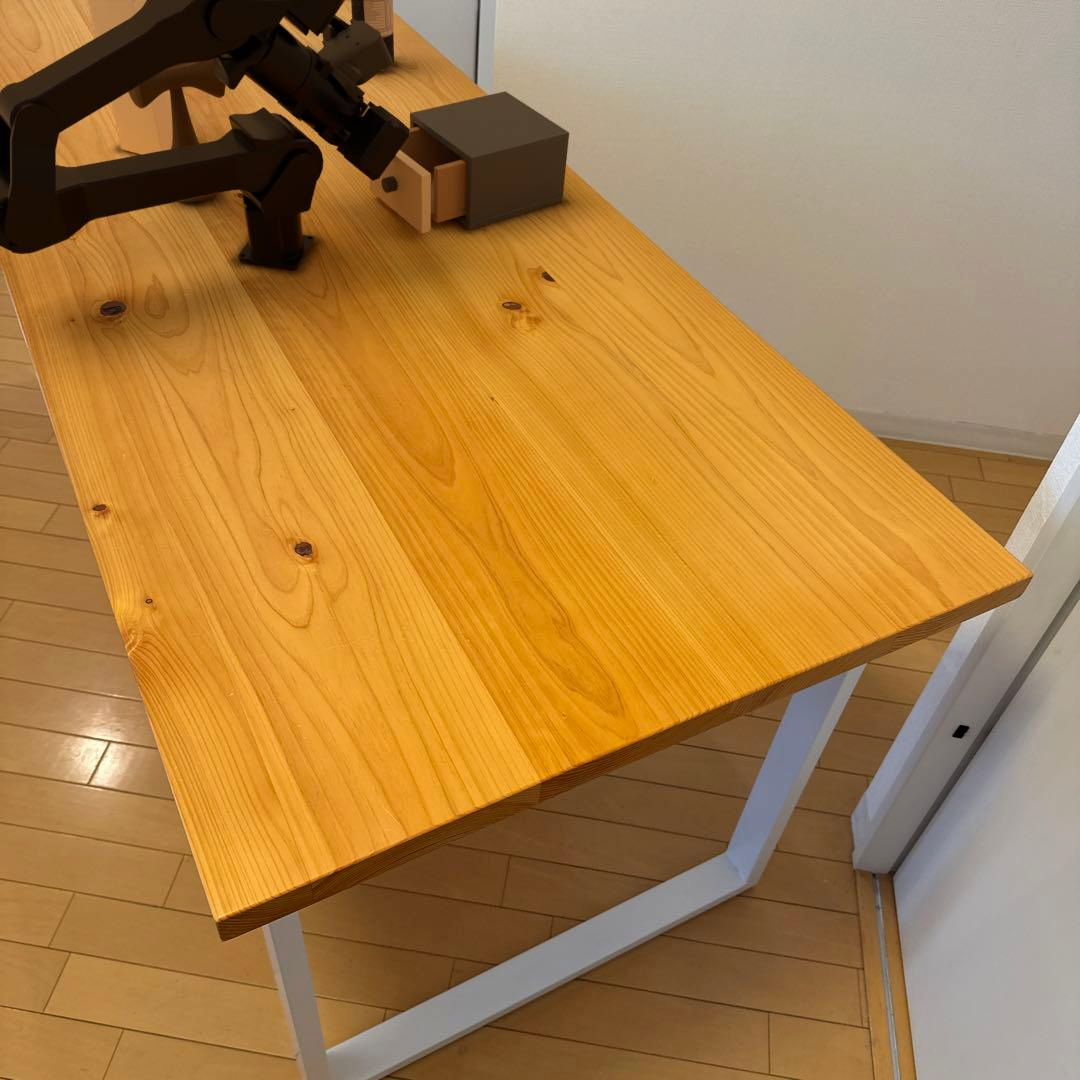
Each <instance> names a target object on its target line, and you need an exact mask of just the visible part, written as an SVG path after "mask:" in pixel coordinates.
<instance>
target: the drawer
mask: <svg viewBox="0 0 1080 1080" xmlns="http://www.w3.org/2000/svg"><path fill="white" fill-rule="evenodd" d="M409 129H410V131H409V137H408V139H407V140H406V141H405V143H404V144H403V146H402V147H401V148H400V150H399V151H398V153H397V154H396V155H395V157H394V159H393V160H392V161H391V163H390V164H389V165H388V167H387V168H386V169H385V171H384V172H383V174H382V175H381V176H380V178H379V179H377V180H374V181H372V180H371V179H370V178H368V182H369V183H368V184H369V191H370V192H371V193H372V194H374V195H375V196H376V197H377V198H378V199H380V200H381V201H382V202H383V203H385V204H386V205H387V206H388V207H389V208H390V209H392V210H393V211H394V212H395V213H396V214H398V215H399V216H400V217H401V218H402V219H404V221H406V222H407V223H409V224H410V225H411V226H412V227H413V228H414V229H416V230H417V231H418V232H419V233H420V234H425V233H428V232H431V231H432V229H431V228H432V226H431V224H432V223H431V222H432V220H433V221H434V222H436V223H441V222H444V221H445V222H446V221H449V220H452V219H455V218H456V217H459V216H463V215H466V198H467V164H468V162H467V161H466V160H464V159H463V158H462V157H460V156H459V155H457V154H456V153H455V152H453V151H452V150H451V149H449V148H448V147H447V146H445V145H444V144H442V143H441V142H440V141H438V140H437V139H436V138H434V137H433V136H432V135H430V134H429V133H428V132H426V131H425V130H423V129H422V128H421V127H419V126H418V127H414V128H410V127H409Z"/></svg>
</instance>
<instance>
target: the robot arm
mask: <svg viewBox="0 0 1080 1080" xmlns="http://www.w3.org/2000/svg"><path fill="white" fill-rule="evenodd" d="M345 2H346V0H147V1H146V2H145V4H144V5H143V7H142V8H141V9H140V10H139V11H138V12H137V13H136V14H135V15H133V16H132V17H131V18H129V19H128V20H126V21H124V22H123V23H121V24H119V25H117V26H116V27H114V28H112V29H111V30H109V31H107V32H105V33H104V34H102V35H100V36H98V37H97V38H96V37H95V38H93V39H92V40H89V41H87V42H86V43H85V44H83V45H81V46H79V47H78V48H76V49H74V50H72V51H70V52H69V53H68V54H66V55H64V56H62V57H61V58H58V59H57V60H55V61H53V62H52V63H50V64H48V65H47V66H45V67H43V68H42V69H40V70H38V71H36V72H35V73H33V74H31V75H29V76H28V77H26V78H24V79H22V80H20V81H17V82H12V83H8V84H6V85H5V86H4V87H3V88H2V89H1V90H0V247H2V248H3V249H5V250H7V251H9V252H11V253H12V254H18V255H25V254H26V255H29V254H34V253H37V252H40V251H42V250H46V249H47V248H50V247H53V246H56V245H57V244H60V243H63V242H65V241H67V240H69V239H71V238H72V237H73V236H74V235H75V234H76V233H77V232H80V230H81V229H82V228H84V227H85V226H87V224H88V223H90V222H92V221H94V220H95V221H96V220H99V219H102V218H107V217H112V216H117V215H121V214H127V213H131V212H136V211H141V210H146V209H150V208H155V207H160V206H164V205H170V204H174V203H179V202H185V201H184V200H189V199H194V198H198V197H203V196H208V195H213V194H215V195H217V194H221V193H226V192H231V191H239V192H241V193H242V194H243V196H242V203H243V211H244V217H245V225H246V226H245V227H246V233H247V238H248V241H247V242H246V244H245V245H244V247H243V248H242V249H241V250H240V252H239V254H238V255H237V259H238V261H239V262H243V263H248V264H254V265H261V266H266V267H273V268H280V269H285V270H291V271H296V270H298V269H299V267H300V266H301V264H302V263H303V261H304V260H305V258H306V256H307V255H308V253H309V252H310V250H311V249H312V247H313V245H314V244H315V242H316V238H315V236H313V235H308V234H304V233H303V231H304V230H303V223H302V222H303V221H302V213H305V212H309V211H310V210H311V206H312V203H313V198H314V195H315V191H316V187H317V183H318V180H319V179H320V178H321V175H322V172H323V171H324V161H325V159H324V156H323V152H322V149H321V148H320V147H319V145H318V144H317V143H316V142H314V140H312V139H311V138H310V137H309V136H308V135H306V134H305V133H304V132H303V131H302V130H301V129H300V128H299V127H297V126H296V125H295V124H293V122H292V121H290V120H289V119H288V118H287V117H285V116H283V115H282V114H280V113H276V112H271V111H269V110H268V109H267V108H266V107H264V106H263V107H261V108H259V109H258V110H257V111H253V112H250V113H233V114H230V115H229V116H228V120H229V123H230V126H231V129H230V130H228V131H227V132H226V133H225V134H224V135H223V136H222V137H220V138H219V139H217V140H212V141H208V142H202V143H200V144H196V145H191V146H185V147H180V148H174V149H169V150H164V151H158V152H153V153H147V154H142V155H141V154H136V155H131V156H126V157H119V158H115V159H110V160H104V161H99V162H93V163H88V164H82V165H77V166H65V165H59V164H57V162H56V161H57V158H56V157H57V153H56V152H57V145H58V141H59V135H60V134H61V133H62V132H63V131H65V130H68V129H69V128H70V127H72V126H74V125H75V124H77V123H79V122H80V121H82V120H84V119H86V118H87V117H88V116H91V115H92V114H93V113H96V112H97V111H99V110H101V109H102V108H104V107H106V106H108V105H109V104H111V102H112V101H114V100H116V99H117V98H119V97H121V96H122V95H124V94H126V93H127V92H129V91H131V90H133V89H134V88H136V87H138V86H139V85H141V84H143V83H144V82H146V81H148V80H149V79H151V78H153V77H154V76H156V75H158V74H159V73H161V72H163V71H164V70H166V69H168V68H171V67H174V66H176V65H179V64H186V63H194V62H203V61H208V60H211V59H214V75H215V76H216V77H217V78H218V79H219V80H220V81H221V82H223V83H224V84H225V85H226V88H228V89H229V90H231V91H234V90H236V89H237V88H238V86H239V85H240V83H241V81H242V80H243V79H244V77H247V78H248V79H249V80H250V81H252V82H253V83H254V84H256V85H257V86H258V87H259V88H261V89H262V90H263V91H264V92H266V93H267V94H268V95H269V96H270V97H272V98H273V100H275V101H276V102H277V104H279V106H281V107H282V108H283V109H284V110H286V111H287V112H288V113H289V114H290V115H291V116H292V117H294V118H296V120H298V121H299V122H303V123H305V125H307V126H308V127H309V128H310V129H312V130H313V131H314V132H315V133H316V134H317V136H319V137H320V138H321V139H323V140H324V141H325V142H326V143H327V144H329V145H331V146H334V147H336V148H335V149H336V151H337V152H338V153H340V155H342V156H343V158H344V159H345V160H347V162H348V163H350V164H351V165H352V166H353V167H355V168H356V169H357V170H358V171H359V172H361V173H362V174H363V175H365V176H366V178H368V179H369V178H370V179H371V180H372V181H374V180H377V179H379V178H380V176H381V175H382V174H383V172H384V171H385V169H386V168H387V167H388V165H389V164H390V163H391V161H392V160H393V159H394V157H395V155H396V154H397V153H398V151H399V150H400V148H401V147H402V146H403V144H404V143H405V141H406V140H407V139H408V137H409V131H410V127H408V126H407V125H406V124H405V123H404V122H403V121H401V119H399V118H398V117H396V116H395V115H394V114H392V113H391V112H390V111H388V110H387V109H386V108H385V107H383V106H382V105H376V104H375V103H373V102H372V101H371V100H370V101H369V102H368V103H366V102H365V99H364V95H365V94H366V92H365V91H364V90H362V89H361V88H360V86H362V85H364V84H366V83H368V82H369V81H370V80H372V79H373V78H374V77H376V75H378V74H379V73H380V72H383V71H386V70H388V69H389V68H390V67H391V65H392V64H393V63H392V58H391V56H390V54H389V52H388V49H387V47H386V45H385V43H384V41H383V38H382V36H381V34H380V32H379V31H377V30H376V29H374V28H373V27H372V26H370V25H369V24H367V23H366V22H364V21H356V20H354V19H353V18H352V17H351V18H350V20H349V22H350V24H349V23H347V22H346V21H345V20H343V19H342V18H340V17H339V16H337V15H336V14H337V13H338V11H340V9H341V7H342V5H343V4H344V3H345ZM283 19H284V20H285V21H286V22H287V23H288V24H290V25H291V26H292V27H294V28H295V29H296V30H297V31H298V32H300V33H301V34H302V35H303V36H305V37H307V36H308V34H310V32H311V33H312V34H313V35H315V37H317V38H318V37H319V36H320V34H321V35H322V41H321V43H322V45H323V47H322V48H321V49H320V50H318V52H317V51H315V50H314V49H313V48H312V47H310V46H309V45H305V44H304V43H302V41H300V40H299V39H298V38H297V37H296V36H295V35H293V33H291V32H290V31H289V30H288V29H287V28H286V27H284V26H283V25H282V24H281V22H282V20H283ZM388 67H389V68H388ZM387 68H388V69H387ZM382 70H383V71H382Z"/></svg>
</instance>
